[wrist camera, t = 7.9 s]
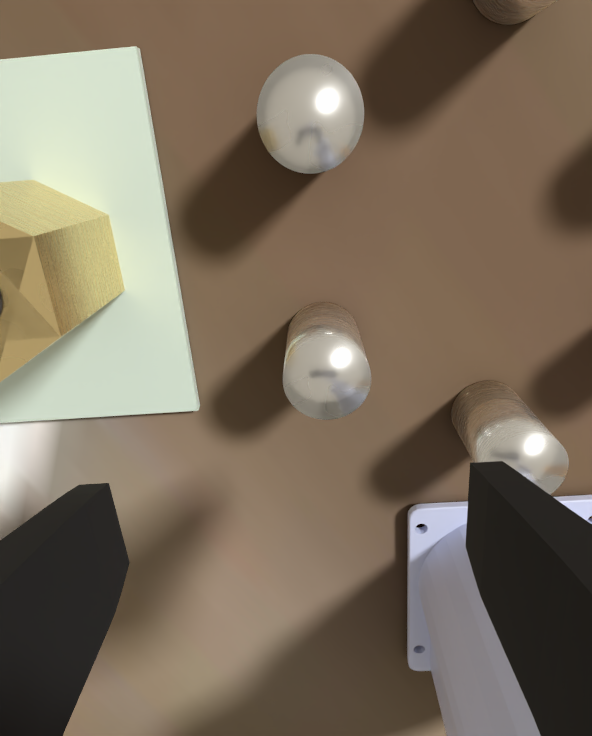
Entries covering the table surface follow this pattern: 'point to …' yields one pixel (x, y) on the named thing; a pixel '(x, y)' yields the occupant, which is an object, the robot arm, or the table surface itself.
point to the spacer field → (334, 323)
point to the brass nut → (50, 268)
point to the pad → (130, 231)
